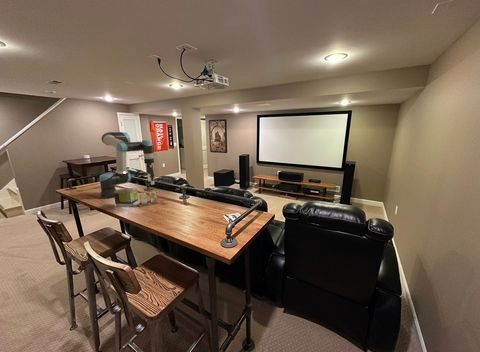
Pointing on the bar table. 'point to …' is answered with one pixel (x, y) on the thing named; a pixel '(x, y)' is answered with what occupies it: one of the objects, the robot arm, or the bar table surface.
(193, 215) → the bar table surface
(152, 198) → the beige wooden block
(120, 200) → the tea box
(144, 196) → the tan block
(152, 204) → the grey brown flat frame
